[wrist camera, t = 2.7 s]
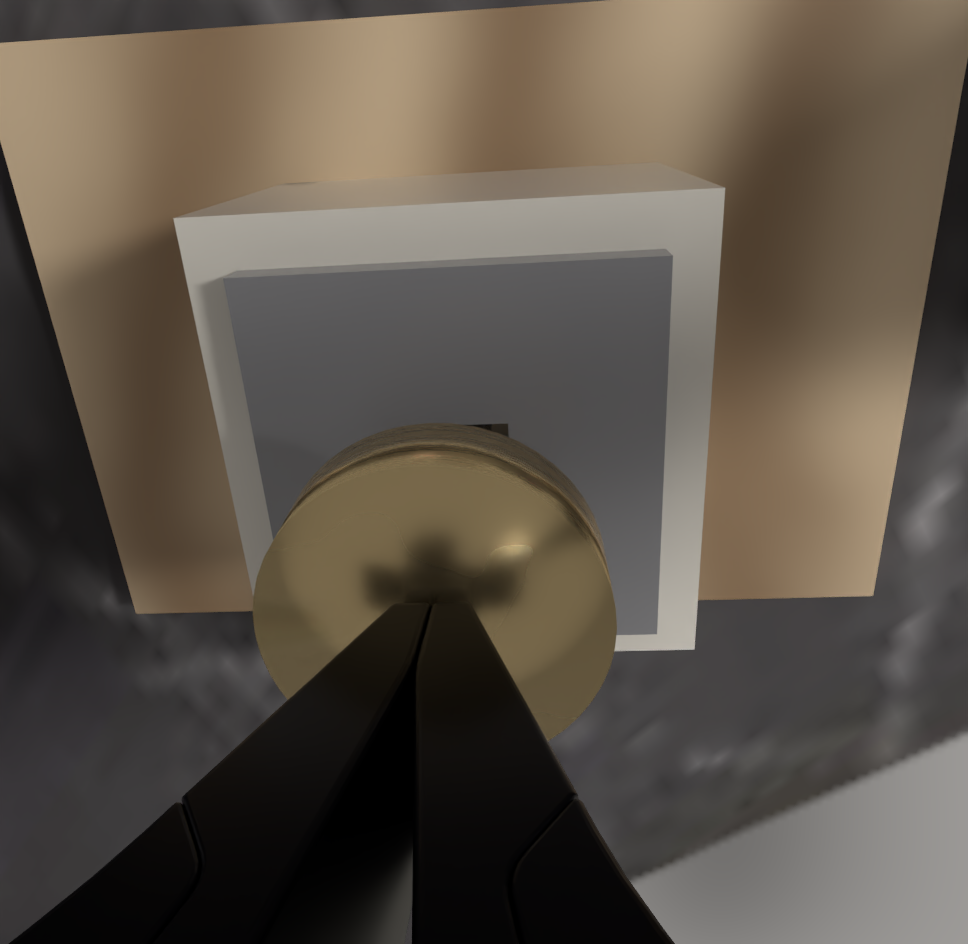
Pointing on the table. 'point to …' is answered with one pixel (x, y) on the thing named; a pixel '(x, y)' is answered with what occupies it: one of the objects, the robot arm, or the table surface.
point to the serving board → (503, 147)
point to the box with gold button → (477, 344)
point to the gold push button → (444, 560)
